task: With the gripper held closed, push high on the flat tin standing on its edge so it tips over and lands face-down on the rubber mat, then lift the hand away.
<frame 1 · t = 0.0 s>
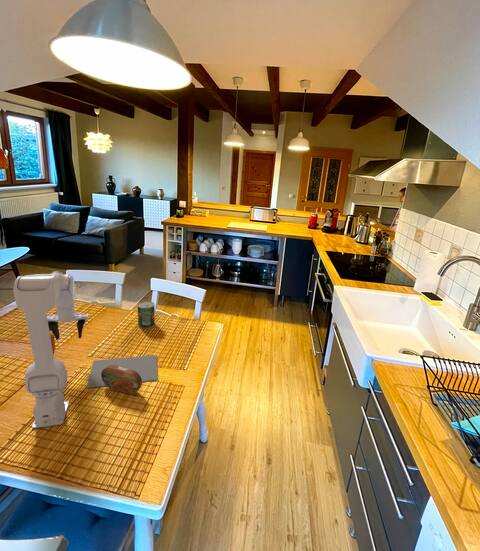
hand: (69, 337, 118), 10 cm above the table, tool pointing down, fingers open, 7 cm apart
carrot: (50, 359, 121), on the table
mat: (124, 370, 118), on the table
tin: (122, 388, 109), on the table, touching mat
canned tomato: (146, 325, 152), on the table
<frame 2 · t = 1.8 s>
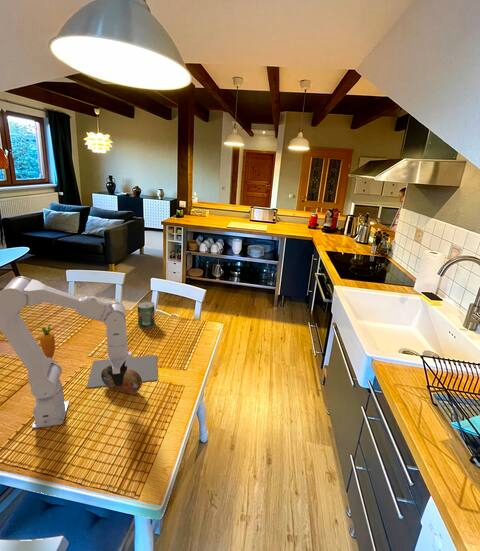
hand: (119, 378, 100), 9 cm above the table, tool pointing down, fingers open, 6 cm apart
nothing on the table moved.
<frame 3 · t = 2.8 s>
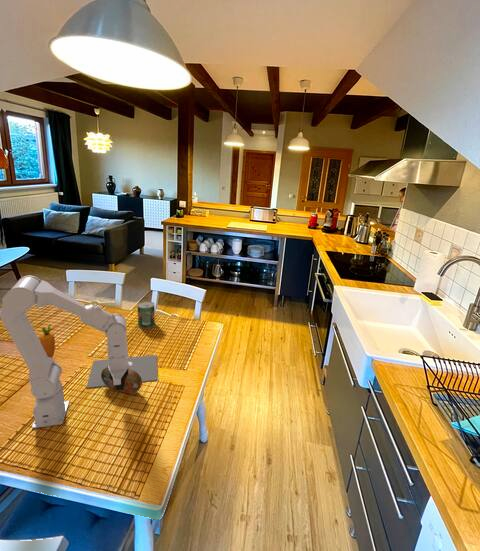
hand: (120, 388, 101), 5 cm above the table, tool pointing down, fingers closed
nothing on the table moved.
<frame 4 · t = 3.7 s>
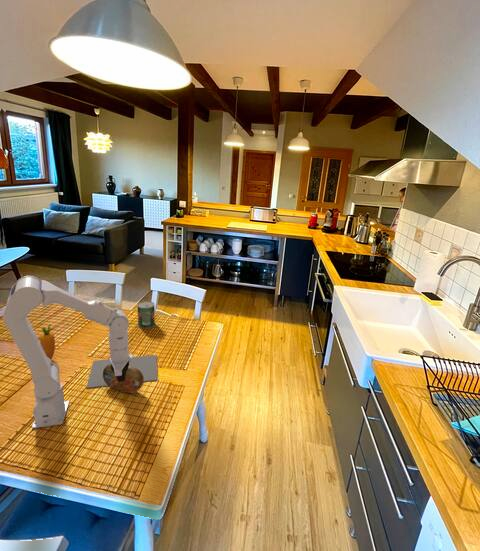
hand: (121, 380, 105), 5 cm above the table, tool pointing down, fingers closed
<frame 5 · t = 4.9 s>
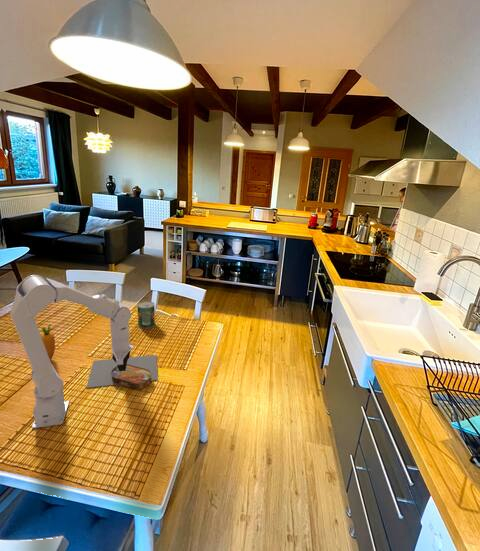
hand: (122, 369, 110), 5 cm above the table, tool pointing down, fingers closed
tin: (123, 384, 109), point 1 cm above the table, touching mat
everything else where it was.
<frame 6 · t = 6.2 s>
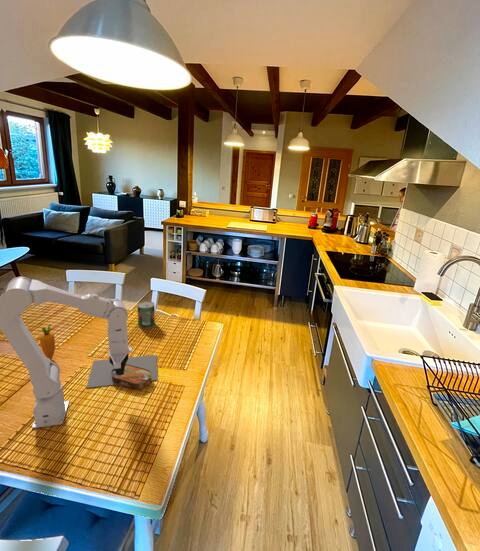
hand: (120, 373, 102), 9 cm above the table, tool pointing down, fingers closed
nothing on the table moved.
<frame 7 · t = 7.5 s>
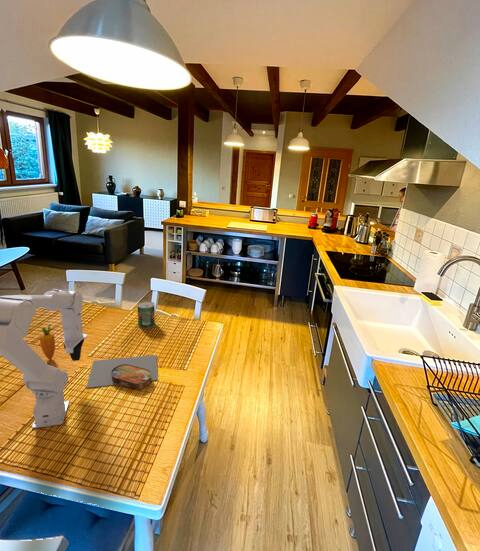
hand: (76, 359, 107), 9 cm above the table, tool pointing down, fingers closed
nothing on the table moved.
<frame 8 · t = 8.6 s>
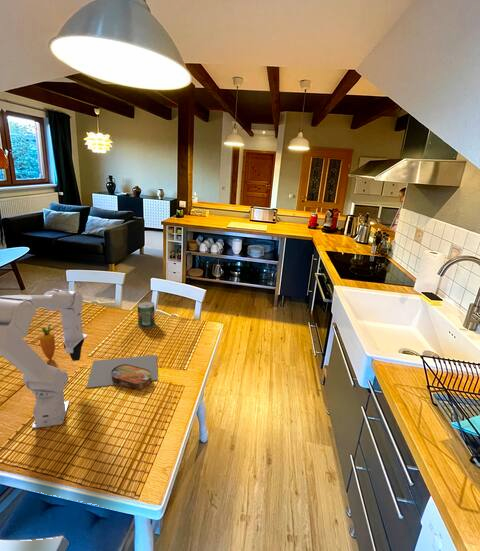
hand: (76, 359, 107), 9 cm above the table, tool pointing down, fingers closed
nothing on the table moved.
at the end: tin tilted 86°; tin touching mat; tin inside the target area (2.4 cm from its centre), point 1.3 cm above the table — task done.
